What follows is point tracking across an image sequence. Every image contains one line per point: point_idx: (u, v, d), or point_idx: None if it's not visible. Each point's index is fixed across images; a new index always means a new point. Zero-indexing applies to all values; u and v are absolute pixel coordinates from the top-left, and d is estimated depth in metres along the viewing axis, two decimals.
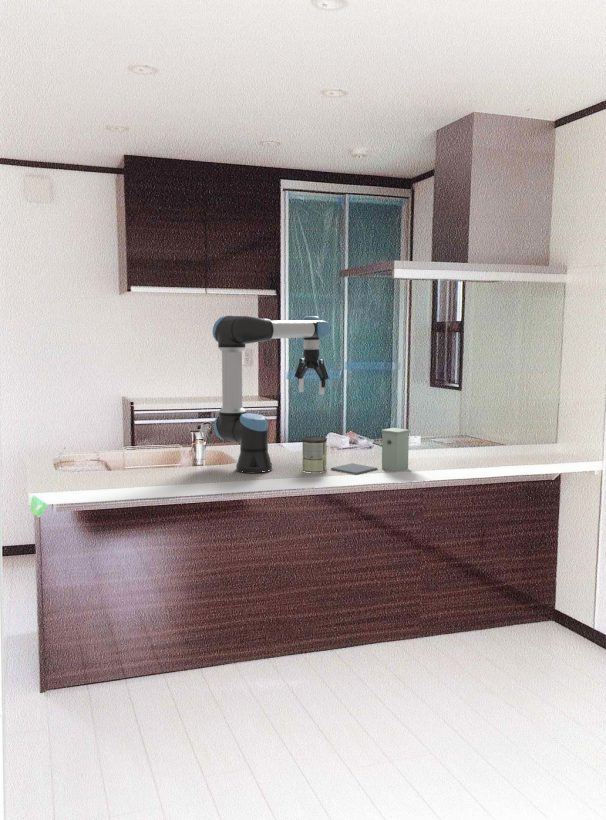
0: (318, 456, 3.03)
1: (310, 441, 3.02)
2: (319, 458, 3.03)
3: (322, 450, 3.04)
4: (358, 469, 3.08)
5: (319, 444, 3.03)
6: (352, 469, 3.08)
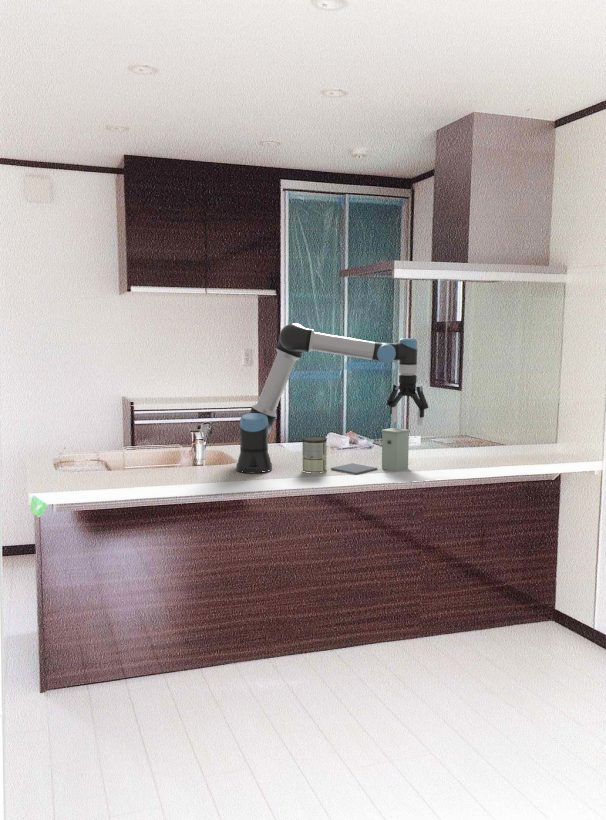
0: (318, 456, 3.03)
1: (310, 441, 3.02)
2: (319, 458, 3.03)
3: (322, 450, 3.04)
4: (358, 469, 3.08)
5: (319, 444, 3.03)
6: (352, 469, 3.08)
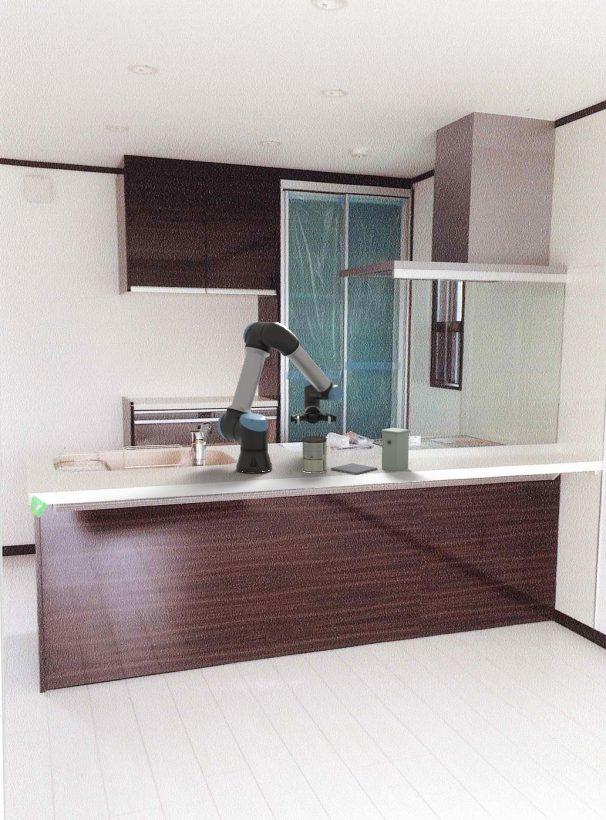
0: (318, 456, 3.03)
1: (310, 441, 3.02)
2: (319, 458, 3.03)
3: (322, 450, 3.04)
4: (358, 469, 3.08)
5: (319, 444, 3.03)
6: (352, 469, 3.08)
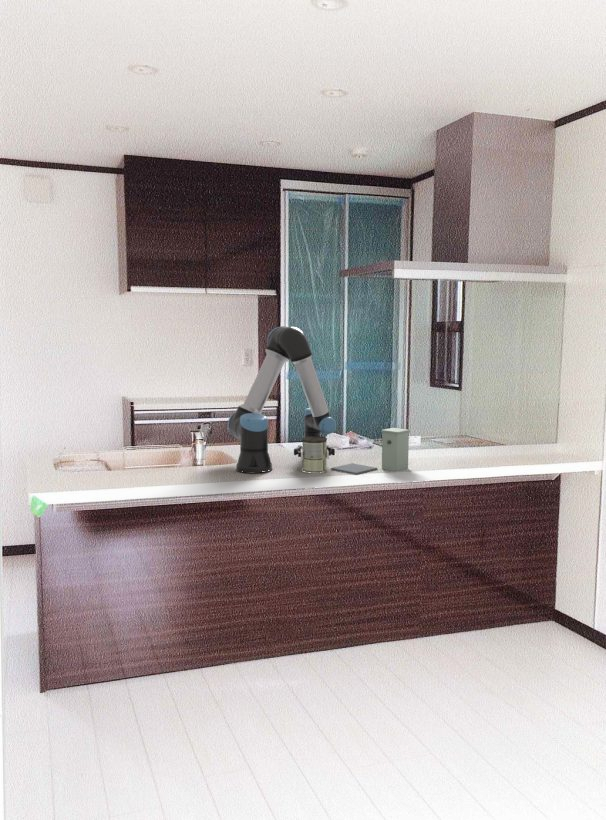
0: (318, 456, 3.03)
1: (310, 441, 3.02)
2: (319, 458, 3.03)
3: (322, 450, 3.04)
4: (358, 469, 3.08)
5: (319, 444, 3.03)
6: (352, 469, 3.08)
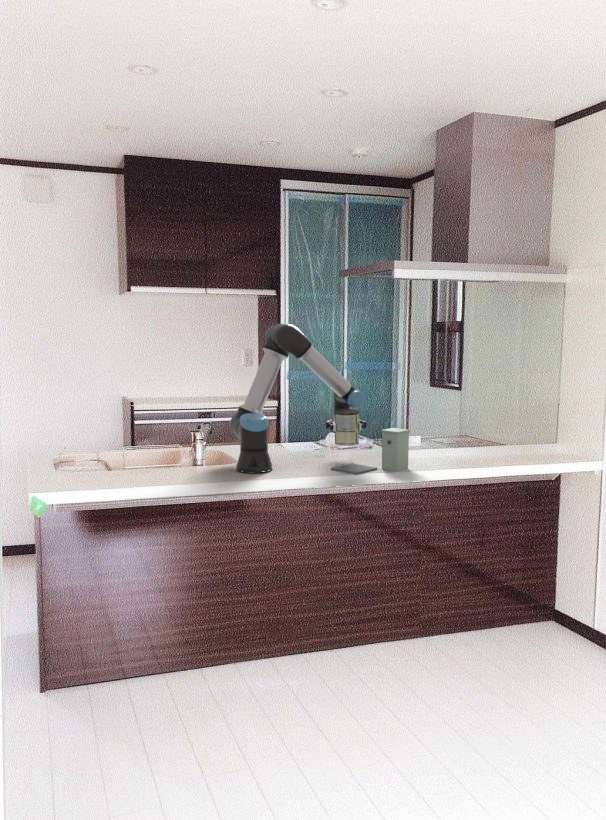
0: (350, 428, 3.05)
1: (343, 413, 3.04)
2: (351, 430, 3.05)
3: (355, 423, 3.05)
4: (358, 469, 3.08)
5: (352, 416, 3.04)
6: (352, 469, 3.08)
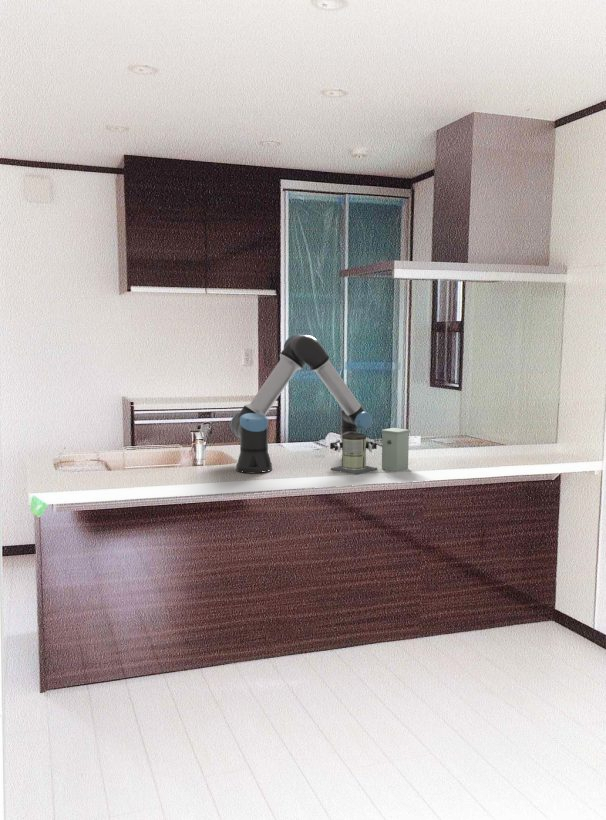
0: (358, 453, 3.06)
1: (350, 438, 3.05)
2: (359, 455, 3.06)
3: (362, 447, 3.07)
4: None
5: (360, 441, 3.06)
6: None
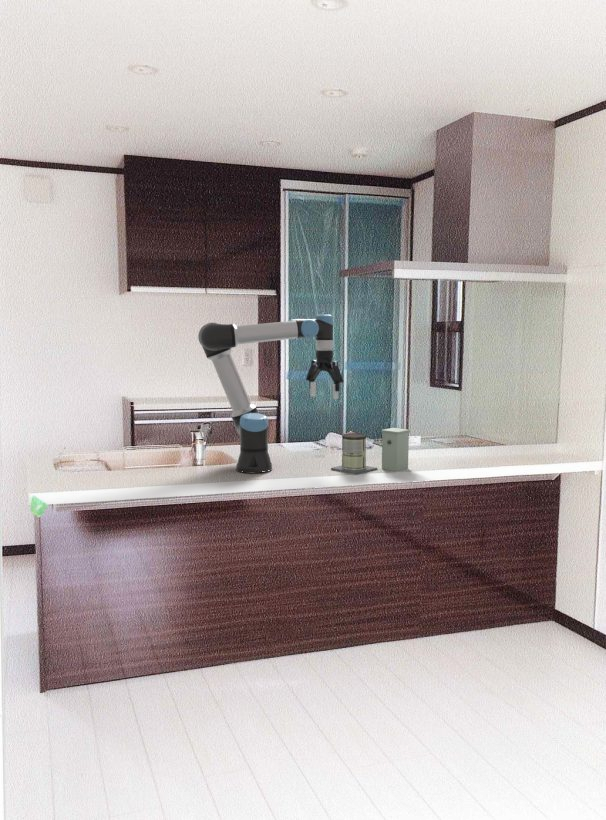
0: (358, 453, 3.06)
1: (350, 438, 3.05)
2: (359, 455, 3.06)
3: (362, 447, 3.07)
4: None
5: (359, 441, 3.06)
6: None
